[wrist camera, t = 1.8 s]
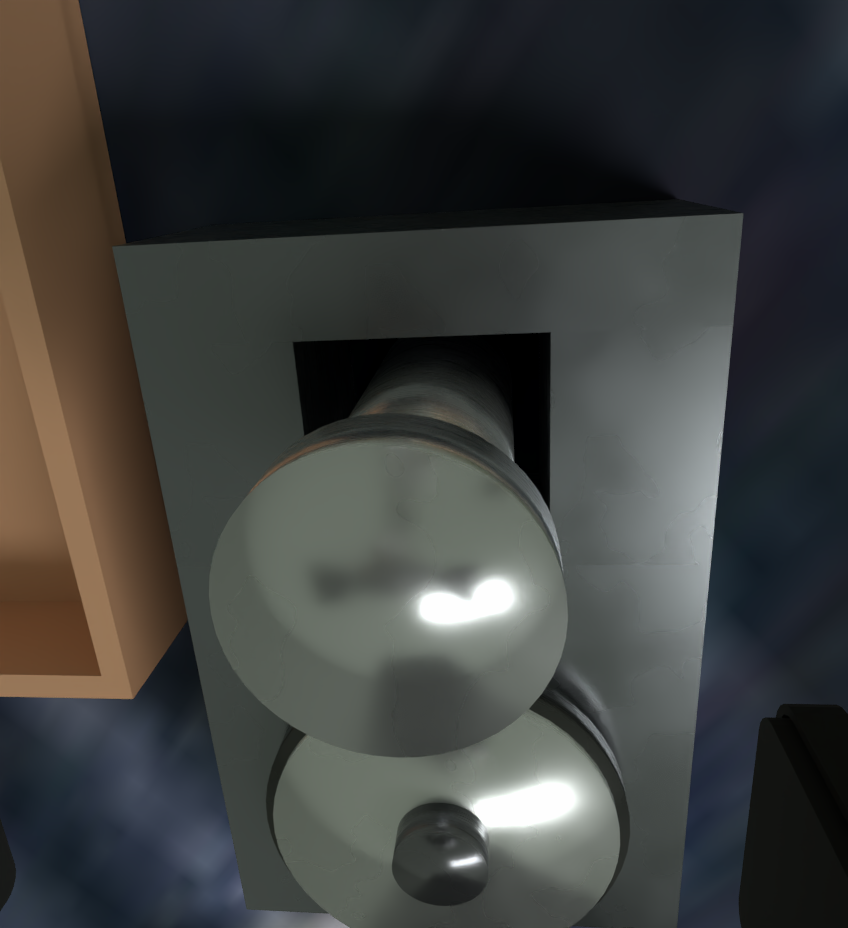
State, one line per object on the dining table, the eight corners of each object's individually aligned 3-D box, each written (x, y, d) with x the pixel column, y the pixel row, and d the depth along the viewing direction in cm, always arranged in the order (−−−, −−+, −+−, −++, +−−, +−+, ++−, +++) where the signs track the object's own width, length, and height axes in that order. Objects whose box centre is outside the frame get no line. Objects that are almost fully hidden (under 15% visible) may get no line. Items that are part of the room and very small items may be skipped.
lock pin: (349, 299, 22) (180, 450, 11) (534, 291, 21) (570, 442, 10) (365, 469, 24) (237, 753, 13) (535, 466, 23) (565, 762, 12)
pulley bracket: (212, 224, 22) (46, 261, 14) (677, 198, 20) (788, 222, 12) (295, 766, 29) (218, 990, 21) (641, 776, 28) (696, 1021, 20)
